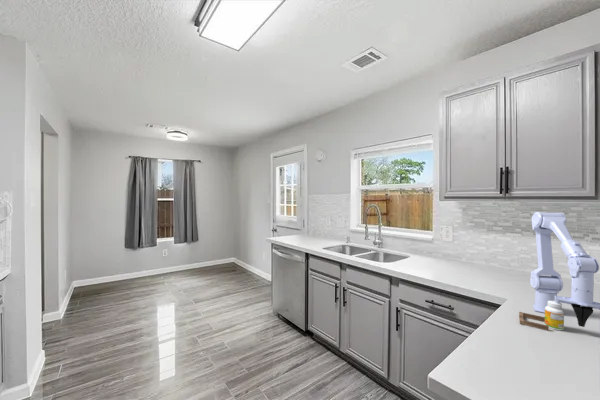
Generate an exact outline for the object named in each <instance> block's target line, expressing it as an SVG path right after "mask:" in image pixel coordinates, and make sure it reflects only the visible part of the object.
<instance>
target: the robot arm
mask: <svg viewBox="0 0 600 400" xmlns="http://www.w3.org/2000/svg"><path fill="white" fill-rule="evenodd" d="M566 225H567V218H566V215H565V214H564V213H563V212H541V211H535V212H534V213H533V214H532V216H531V226H532V231H534V232H535V243H536V244H535V245H536V256H537V268H536V269H534V270H532V271H530V279H529V283H530V286H531V287H532V288H533V289H534V303H532V306H533V311H535V312H537V313H544V314H545V307H546V306H548V305H547V304H548V301H555V302H558V303H561V304H567V305H570V306H571V307H572V309H573V311H574V314H575V316H576V319H577V324H578V326H579V327H582V328H585V326H586V323H587V321H588V320H589V318H590V317H591V315H592V314H594V310H595V309H596V310H600V302H596V301H594V290H595V288H594V287H595V286H594V281H595V274H596V273H598V272H599V270H600V264H599V262H598V260H597V259H596V258H595V257H593V256H591V255H590V254H588V253H587V252H586V250H585V249H584V247H583V246H582V244H581V243H580V242H579V241H577V240H574V238H573V237H572V235H571V233H570V231H569V229H568V227H567V226H566ZM553 233H554V234H555V236H556V238H557V239H558V240H559V241H560V242H561V244H560V245H559V247H560V248H561V250H562V251H563V254H564V255H565V257H566V258H567V262H566V264H567V268H568V270H569V276H571V279H570V280H571V282H570V283H571V285H570V287H571V288H570V297H568V296H558V294H559V293H560V292H561V291H563V289H564V282H563V280H562V276H561V274H560V273H559V272H557V271H556V270H555V269H554V260H553V259H554V258H553V249H552V248H553V247H552V237H551V234H553Z"/></svg>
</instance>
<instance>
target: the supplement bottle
mask: <svg viewBox="0 0 600 400" xmlns="http://www.w3.org/2000/svg"><path fill="white" fill-rule="evenodd" d="M547 305H548V306H546V307H545V313H544V317H545V322H544V325H548V327H549V329H552V330H556V331H564V330H565V328H564V325H565V312H564V310H563V308H562V305H563V303H561V302H559V303H558V302H555V301H548V304H547Z"/></svg>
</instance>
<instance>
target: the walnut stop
mask: <svg viewBox="0 0 600 400" xmlns="http://www.w3.org/2000/svg"><path fill="white" fill-rule="evenodd" d="M518 315H519V316H518V318H519V319H518V320H519V325H523V326H526V327H527V326H528V327H531V328H534V329H540V330H544V331H549V329H550V328H549V327H548V325H545V324H543V323H545V316H541V315H537V314H531V313H527V312H522V311H518ZM524 318H525V319H531V320H535V321H539V322H543V323H538V322H534V321H529V320H525V319H524Z"/></svg>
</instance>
